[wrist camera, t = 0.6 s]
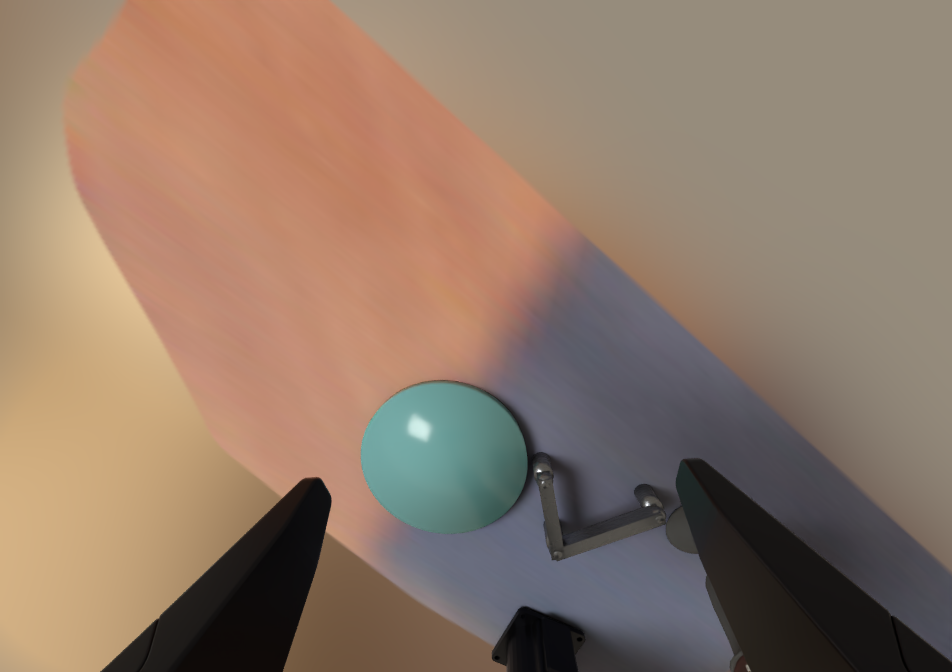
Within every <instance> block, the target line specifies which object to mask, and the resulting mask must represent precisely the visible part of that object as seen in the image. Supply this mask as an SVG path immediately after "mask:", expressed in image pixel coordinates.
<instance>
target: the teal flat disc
mask: <svg viewBox="0 0 952 672" xmlns="http://www.w3.org/2000/svg"><path fill="white" fill-rule="evenodd" d="M361 464H362V470H363V473H364V477H365V480H366V482H367V484H368V486H369V488H370V490H371V492H372V493H373V495H374V496H375V498H376V499H377V500H378V501H379V503H380V504H381V505H382V506H383V507H384V508H385V509H386V510H387V511H388V512H390V513H391V514H392V515H394V516H395V517H396V518H398V519H400V520H401V521H403V522H405V523H407V524H409V525H411V526H413V527H416V528H419V529H421V530H425V531H429V532H434V533H443V534H455V533H464V532H469V531H474V530H476V529H479V528H482V527H485V526H487V525H489V524H491V523H493V522H494V521H496V520H497V519H499V518H500V517H501V516H503V515H504V514H505V513H506V512H507V511H508V510H509V509H510V508H511V507H512V506H513V504H514V503H515V502H516V500H517V499H518V497H519V495H520V493H521V491H522V489H523V487H524V483H525V480H526V475H527V452H526V446H525V440H524V437H523V434H522V431H521V429H520V427H519V425H518V423H517V421H516V420H515V418H514V417H513V415H512V414H511V413H510V412H509V410H508V409H507V408H506V407H505V406H504V405H503V404H502V403H501V402H500V401H498V400H497V399H496V398H495V397H493V396H492V395H490V394H489V393H487V392H485V391H483V390H481V389H479V388H477V387H474V386H472V385H469V384H466V383H461V382H457V381H448V380H433V381H426V382H421V383H418V384H414V385H411V386H409V387H407V388H404V389H402V390H401V391H399V392H397V393H396V394H394V395H393V396H392V397H390V398H389V399H388V400H387V401H386V402H385V403H384V404H383V405H382V406H381V407H380V408H379V409H378V411H377V412H376V414H375V415H374V416H373V418H372V419H371V421H370V422H369V424H368V426H367V428H366V430H365V434H364V437H363V440H362V446H361Z"/></svg>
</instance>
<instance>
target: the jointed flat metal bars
mask: <svg viewBox="0 0 952 672" xmlns="http://www.w3.org/2000/svg"><path fill="white" fill-rule="evenodd" d="M532 465H533V471H534V478H535V480H536V481H537V484H538V486H539V491H540V496H541V502H542V507H543V513H544V518H545V521H544V531H545V537H546V543H547V547H548V549H549V552H550V554H551V557H552V560H557V561H560V560H562V559H565V558H568V557H571V556H574V555H577V554H580V553H583V552H586V551H589V550H592V549H595V548H598V547H600V546H603V545H606V544H609V543H612V542H615V541H618V540H621V539H624V538H627V537H630V536H633V535H635V534H638V533H641V532H644V531H647V530H650V529H653V528H656V527H659V526H662V525H665V524H666V522H665V520H666V513H665V511H664V507H663V505H662V504H661V502H660V501H659V499H658V497H657V496H656V494H655V493H654V491H653V490H652V488H651V487H650V486H649V485H647V484H641V485H638V486H637V487H636V488H635V490H634V494H635V496H636V498H637V500H638V502H639V503H640V505H641V507H642V508H640V509H637V510H635V511H632V512H629V513H626V514H623V515H621V516H618V517H615V518H612V519H609V520H606V521H604V522H601V523H598V524H595V525H592V526H589V527H587V528H584V529H581V530H578V531H575V532H572V533H570V534H567V535H564V536H563V532H562V528H561V524H560V521H559V518H558V512H557V506H556V500H555V494H554V488H553V477H554V475H553V471H552V467H551V463H550V459H549V456H548V455H547V454H545V453H542V452H540V453H536V454H535V455H534V456H533V457H532Z"/></svg>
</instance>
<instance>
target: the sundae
mask: <svg viewBox="0 0 952 672" xmlns="http://www.w3.org/2000/svg"><path fill="white" fill-rule="evenodd" d="M666 535H667V537H668V539H669V541H670V543H671V544H672V545H673V546H675V547H676V548H677V549H679V550H681V551H684V552H687V553H691V554H698V551H697V549H696V546H695V543H694V540H693V537H692V534H691V531H690V528H689V525H688V522H687V519H686V516H685V513H684V510H683V507H682V506H681V507H679V508H678V509H677V510H676V511H674V512H673V513H672V515H671V516H670V518H669V519H668V522H667V524H666ZM706 589H707V591H708V594H709V597H710V600H711V602H712V605H713V608H714V610H715V612H716V614H717V616H718V618H719V620H720V623H721V625H722V627H723V629H724V631H725V633H726V636H727V638H728V640H729V643H730V645H731V648H732V650H733V653H734V657H733V658H732V660H731V661H730V670H731V672H751V671H750V669H749V667H748V664H747V662H746V660H745V658H744V655H743V653H742V651H741V649H740V647H739V644H738V642H737V640H736V638H735V636H734V633H733V631H732V629H731V627H730V624H729V622H728V620H727V618H726V616H725V613H724V611H723V609H722V607H721V604H720V602H719V600H718V598H717V596H716V593H715V591H714V589H713V587H712V584H711V582H710V580H709V578H708V576H706Z"/></svg>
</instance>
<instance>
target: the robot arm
mask: <svg viewBox="0 0 952 672" xmlns="http://www.w3.org/2000/svg"><path fill="white" fill-rule="evenodd" d="M676 488H677V492H678V495H679V498H680V501H681V504H682V507H683V510H684V513H685V516H686V519H687V522H688V525H689V528H690V531H691V534H692V537H693V540H694V543H695V546H696V549H697V551H698V554H699V557H700V559H701V562H702V564H703V567H704V569H705V571H706V573H707V576H708V578H709V580H710V582H711V584H712V587H713V589H714V591H715V593H716V596H717V598H718V600H719V602H720V604H721V607H722V609H723V611H724V613H725V616H726V618H727V620H728V622H729V624H730V627H731V629H732V631H733V633H734V636H735V638H736V640H737V642H738V644H739V647H740V649H741V651H742V653H743V655H744V658H745V660H746V662H747V664H748V667H749V669H750V671H751V672H952V662H951V661H950V660H949V659H948V658H946V657H945V656H944V655H943V654H941V653H940V652H939V651H938V650H936V649H935V648H934V647H933V646H931V645H930V644H929V643H927V642H926V641H925V640H924V639H922V638H921V637H920V636H919V635H918V634H916V633H915V632H914V631H913V630H911V629H910V628H909V627H908V626H907V625H905V624H904V623H903V622H902V621H900V620H899V619H898V618H897V617H895V616H891V615H890V613H889V611H888V610H887V609H885V608H884V607H883V606H882V605H881V604H879V603H878V602H877V601H876V600H874V599H873V598H872V597H871V596H870V595H868V594H867V593H866V592H865V591H863V590H862V589H861V588H860V587H859V586H857V585H856V584H855V583H854V582H852V581H851V580H850V579H849V578H848V577H846V576H845V575H844V574H843V573H841V572H840V571H839V570H838V569H836V568H835V567H834V566H833V565H832V564H830V563H829V562H828V561H827V560H825V559H824V558H823V557H822V556H821V555H819V554H818V553H817V552H816V551H814V550H813V549H812V548H811V547H810V546H808V545H807V544H806V543H805V542H803V541H802V540H801V539H800V538H799V537H797V536H796V535H795V534H794V533H792V532H791V531H790V530H789V529H787V528H786V527H785V526H784V525H783V524H781V523H780V522H779V521H778V520H776V519H775V518H774V517H773V516H772V515H770V514H769V513H768V512H767V511H765V510H764V509H763V508H762V507H761V506H759V505H758V504H757V503H756V502H754V501H753V500H752V499H751V498H750V497H748V496H747V495H746V494H745V493H743V492H742V491H741V490H740V489H739V488H737V487H736V486H735V485H734V484H732V483H731V482H730V481H729V480H727V479H726V478H725V477H724V476H723V475H721V474H720V473H719V472H718V471H716V470H715V469H714V468H713V467H712V466H710V465H709V464H708V463H707V462H705V461H704V460H702V459H700V458H691V459H683V460H682V461H681V463H680V466H679V470H678V474H677V477H676ZM331 502H332V500H331V495H330V493H329V491H328V489H327V488H326V486H325V484H324V483H323V481H322V479H321V478H319V477H312V478H304V479H303V480H301V481H300V482H299V483H298V484H297V485H296V486H295V487H294V488H293V489H292V490H291V491H289V492H288V493H287V494H286V495H285V496H284V497H283V498H282V499H281V500H280V501H279V502H278V503H277V504H276V505H275V506H274V507H273V508H272V509H271V510H270V511H269V512H268V513H267V514H265V515H264V517H262V518H261V519H260V520H259V521H258V522H257V523H256V524H255V525H254V526H253V527H252V528H251V529H250V530H249V531H248V532H247V533H246V534H245V535H244V536H243V537H242V538H240V539H239V541H237V542H236V543H235V544H234V545H233V546H232V547H231V548H230V549H229V550H228V551H227V552H226V553H225V554H224V555H223V556H222V557H221V558H220V559H219V560H218V561H217V562H216V563H214V565H213V566H211V567H210V568H209V569H208V570H207V571H206V572H205V573H204V574H203V575H202V576H201V577H200V578H199V579H198V580H197V581H196V582H195V583H194V584H193V585H192V586H191V587H190V588H188V589H187V590H186V592H184V593H183V594H182V595H181V596H180V597H179V598H178V599H177V600H176V601H175V602H174V603H173V604H172V605H171V606H170V607H169V608H168V609H167V610H165V611H164V612H163V613H162V614H161V615H160V618H159V619H156V620H155V621H154V622H153V623H152V624H151V625H150V626H149V627H148V628H147V629H146V630H144V631H143V632H142V633H141V634H140V635H139V636H138V637H137V638H136V639H135V640H134V641H133V642H132V643H131V644H130V645H129V646H128V647H127V648H125V649H124V650H123V651H122V652H121V653H120V654H119V655H118V656H117V657H116V658H115V659H114V660H113V661H112V662H110V663H109V664H108V665H107V666H106V667H105V668H104V669H103V670H102V671H100V672H283V669H284V666H285V663H286V660H287V657H288V654H289V651H290V648H291V645H292V642H293V639H294V636H295V632H296V630H297V626H298V623H299V620H300V617H301V614H302V611H303V608H304V605H305V602H306V599H307V596H308V593H309V590H310V587H311V583H312V581H313V578H314V574H315V571H316V568H317V564H318V560H319V557H320V552H321V548H322V543H323V539H324V535H325V530H326V526H327V521H328V517H329V513H330V508H331ZM584 642H585V635H584V633H583V632H582V631H580V630H578V629H576V628H573V627H571V626H568V625H566V624H563V623H561V622H558V621H556V620H553V619H551V618H548V617H546V616H544V615H541V614H539V613H536V612H534V611H531V610H529V609H526V608H519V609H518V611H517V612H516V614H515V615H514V617H513V619H512V620H511V622H510V623H509V625H508V627H507V628H506V630H505V631H504V633H503V635H502V636H501V638H500V640H499V641H498V643H497V644H496V646H495V648H494V649H493V651H492V659H493V661H495V662H498V663H500V664H503V665H505V666H507V672H578V668H577V662H576V657H575V654H576V653H577V652H578V650H579V649H580V647H581V646H582V645H583V643H584Z"/></svg>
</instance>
